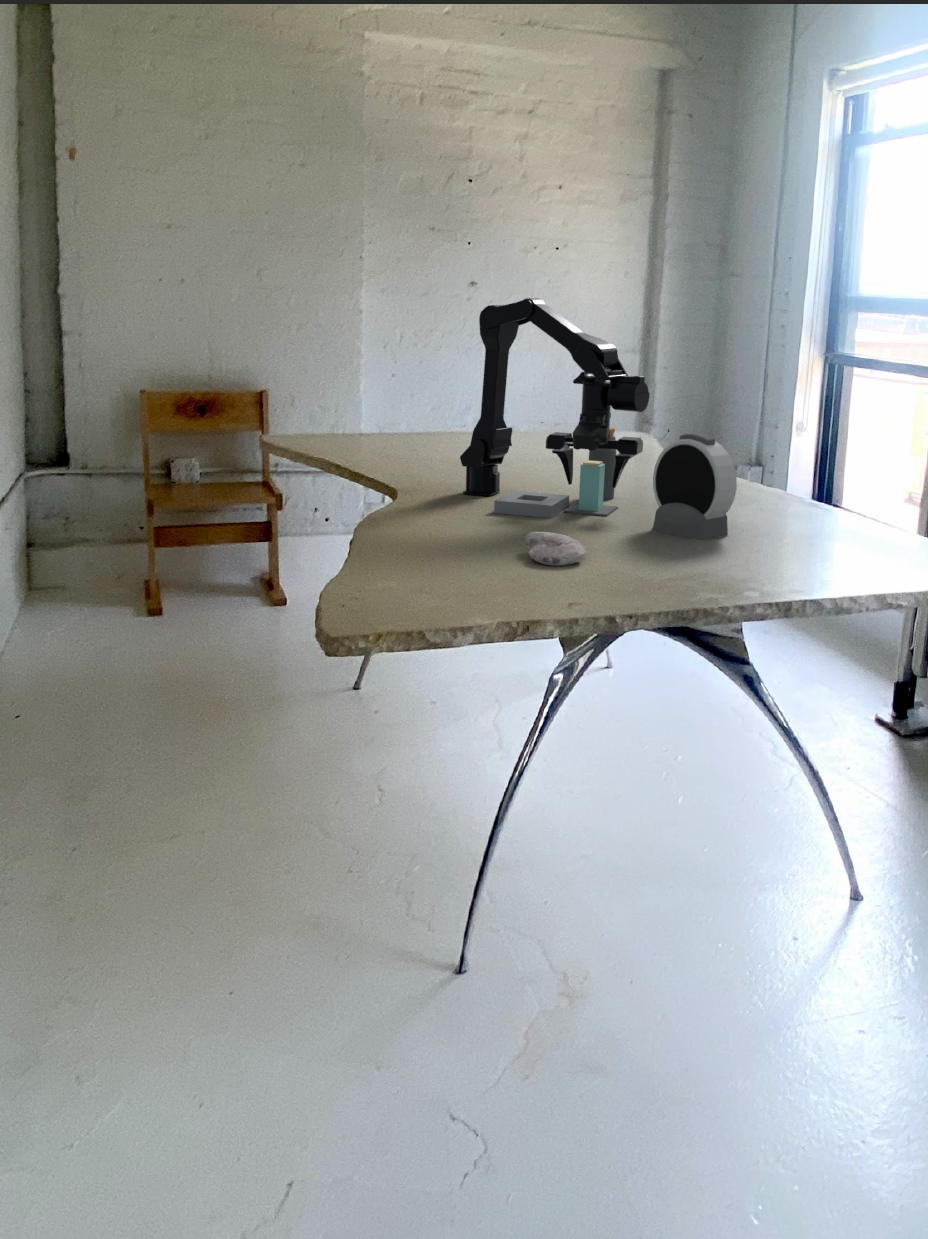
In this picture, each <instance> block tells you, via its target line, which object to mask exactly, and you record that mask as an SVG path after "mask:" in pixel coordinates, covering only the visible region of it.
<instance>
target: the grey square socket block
mask: <svg viewBox="0 0 928 1239" xmlns="http://www.w3.org/2000/svg"><path fill="white" fill-rule="evenodd" d="M493 505H494V506H493V508H494V509H493V512H494V514H503V515H513V516H524V517H525V516H526V517H536V518H543V519H545V518H547V519H552V518H554V517H556V516H558V515H559V514H560V513H562V512H563V511H564V510H565V509H567V508H568V507H570V495H568V494H559V493H558V494H557V493H556V494H555V493H546V492H545V493H544V492H533V491H522V490H521V491H520V490H513V491H511V492H509V493H507V494H505V495H502V496H501V497H498V498H497V499H495V500H494V504H493Z"/></svg>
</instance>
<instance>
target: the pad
mask: <svg viewBox="0 0 928 1239" xmlns="http://www.w3.org/2000/svg"><path fill="white" fill-rule="evenodd" d="M618 508H619V506H615V505H607V504H606V505H605V504H603V508H601V509H600V510H599V511H591V510H580V509H579V502H575V503H573V504H571V505H569V507H568V508H567V509H565V510H564V511H562V512H563V513H566V514H575V515H576V514H578V515H587V516H596V517H597V516H599V517H608V516H609V515H611V514H612V513H614V512H615V511H616V510H618Z"/></svg>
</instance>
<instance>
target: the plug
mask: <svg viewBox="0 0 928 1239" xmlns="http://www.w3.org/2000/svg"><path fill="white" fill-rule="evenodd" d="M579 471H580V474H579V490H578V491H579V493H578V503H579V509H580V510H591V511H599V510H600V509H601V508H603V505H604V500H603V492H604V473H605V464H603V461H589V459H587V460H586V461H584V462H582V464H580V470H579Z"/></svg>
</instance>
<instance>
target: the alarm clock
mask: <svg viewBox="0 0 928 1239" xmlns="http://www.w3.org/2000/svg"><path fill="white" fill-rule="evenodd" d="M652 475H653V476H652V485H653V486H652V487H653V488H652V489H653V493H654V497H655V501H656V503H657V506H658V508H657V509H656V510H655V516H654V521H653V527H652V529H653V530H656V531H658V532H660V533H663V534H667V535H670V536H675V537H681V538H686V539H692V540H698V541H706V540H712V539H716V538H721V537H728V534H729V533H728V532H729V529H728V515H727V513H728V512H729V510H731V507H732V505H733V503H734V501H735V499H736V498H735V496H736V494H737V484H738V483H737V481H738V480H737V471H736V469H735V464H734V462H733V460H732V457H731V456H730V453H728V451H727V450H726V449H725V448H724V446H723V445H721V444H720V443H719V442H717V441H716V439H715V438H714V437H713V436H712V435H710V434H707V433H703V432H695V433H686V434H681V435H680V436H679V439H678V440H675V441H673V442H671V443H669V444H668V445H667V446H665V448H663V450H662V451H661V453H660V454H659V455H658V458H657V460H656V463H655V464H654V469H653V474H652Z"/></svg>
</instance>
